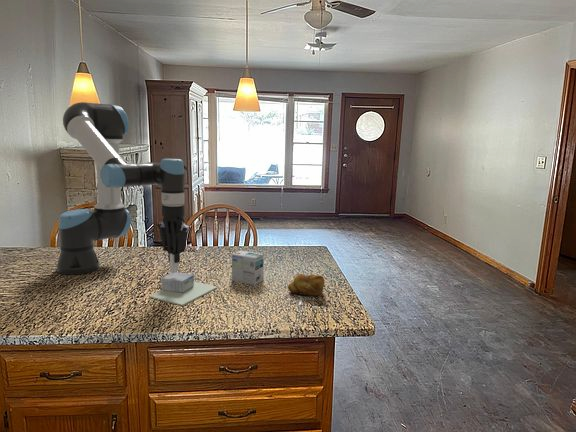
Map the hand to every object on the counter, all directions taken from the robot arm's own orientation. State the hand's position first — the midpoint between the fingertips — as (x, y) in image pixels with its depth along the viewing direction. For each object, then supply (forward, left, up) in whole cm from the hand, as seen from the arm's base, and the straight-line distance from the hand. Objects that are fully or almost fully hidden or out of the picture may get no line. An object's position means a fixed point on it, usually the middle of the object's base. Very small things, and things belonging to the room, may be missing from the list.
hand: (174, 271), depth 145 cm
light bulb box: (+16, +22, -7) cm, 29 cm away
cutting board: (+4, 0, -7) cm, 8 cm away
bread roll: (+41, +23, -7) cm, 47 cm away
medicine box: (-4, +1, -4) cm, 6 cm away
